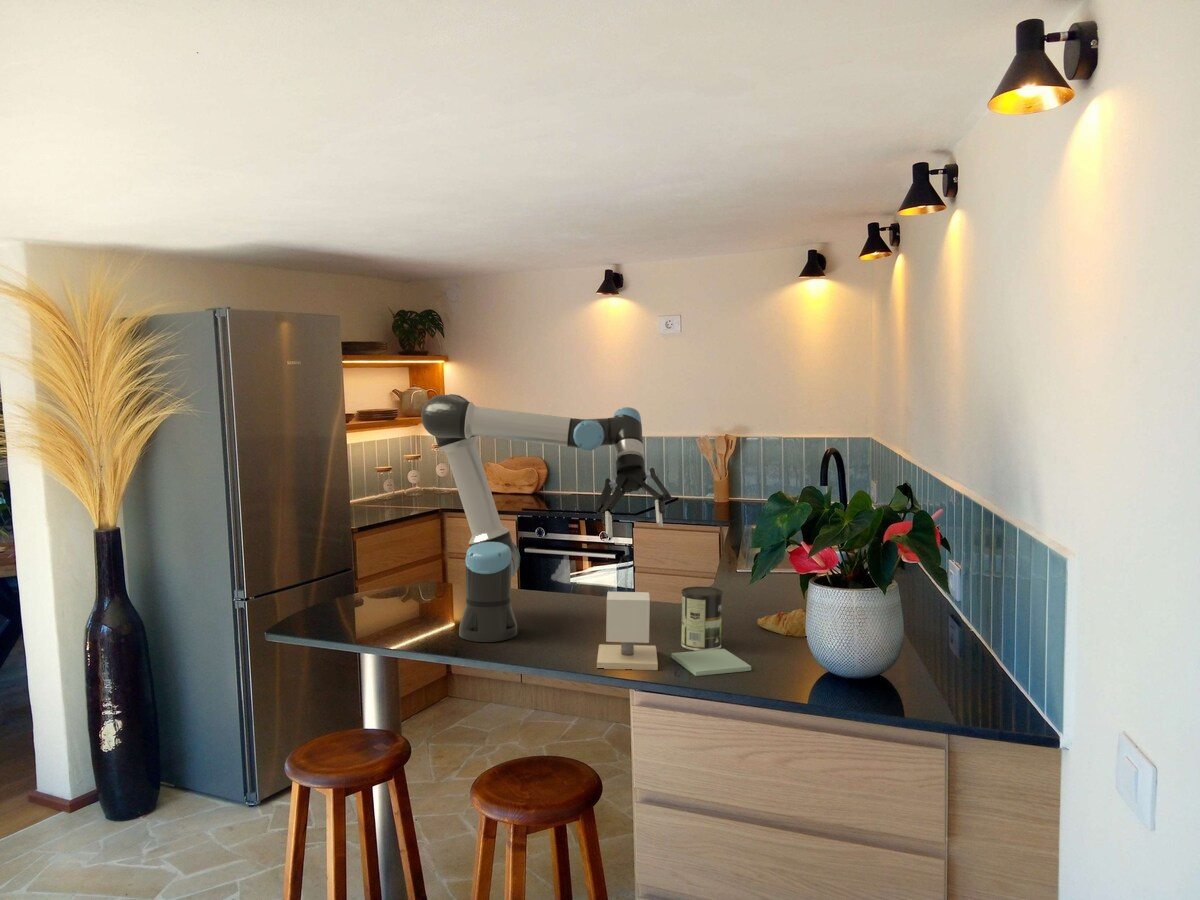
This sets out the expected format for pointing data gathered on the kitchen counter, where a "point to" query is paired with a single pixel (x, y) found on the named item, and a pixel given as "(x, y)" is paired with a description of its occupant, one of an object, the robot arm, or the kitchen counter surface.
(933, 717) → the kitchen counter surface
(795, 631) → the croissant
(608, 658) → the mounted unit
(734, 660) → the sage mat
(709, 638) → the coffee can
